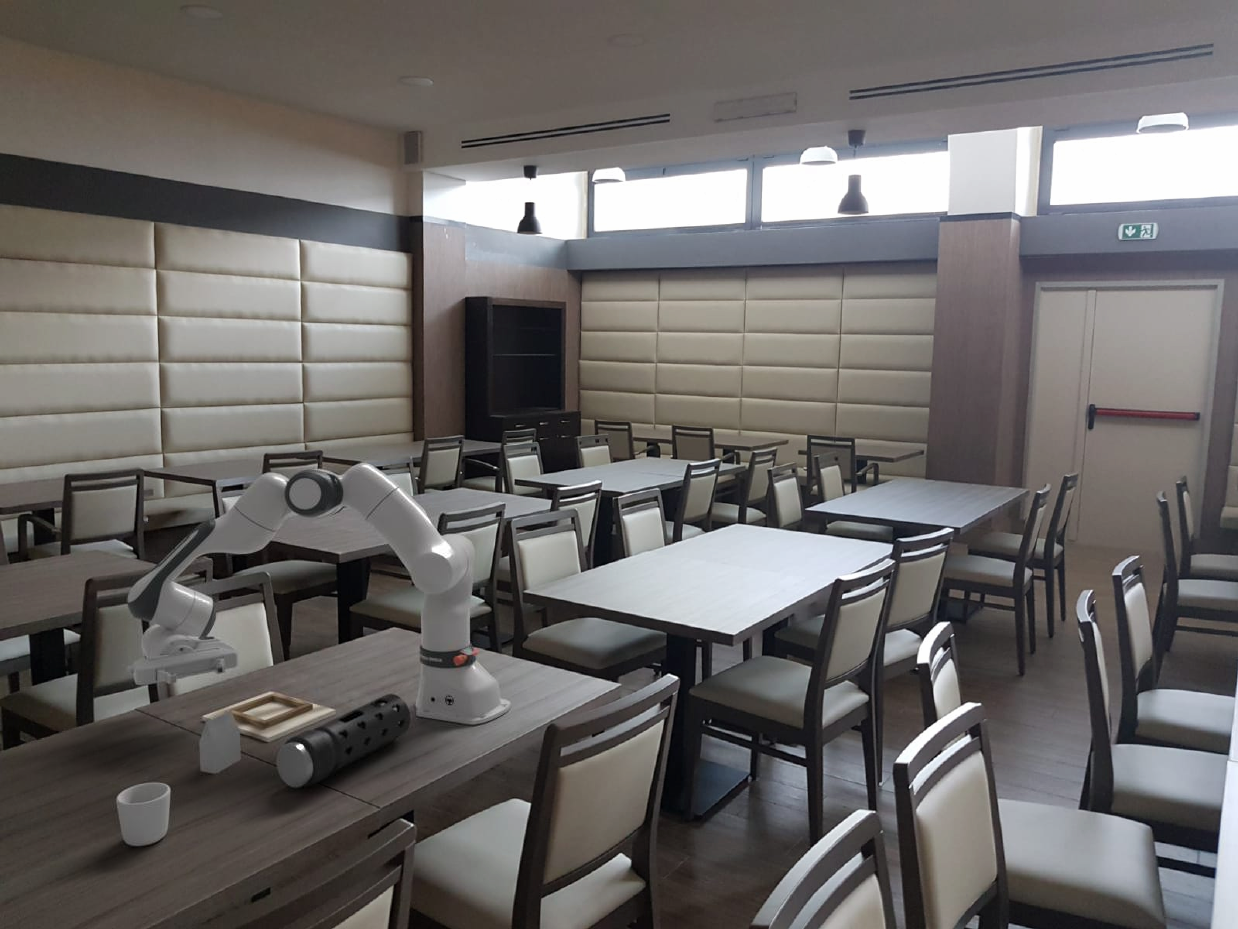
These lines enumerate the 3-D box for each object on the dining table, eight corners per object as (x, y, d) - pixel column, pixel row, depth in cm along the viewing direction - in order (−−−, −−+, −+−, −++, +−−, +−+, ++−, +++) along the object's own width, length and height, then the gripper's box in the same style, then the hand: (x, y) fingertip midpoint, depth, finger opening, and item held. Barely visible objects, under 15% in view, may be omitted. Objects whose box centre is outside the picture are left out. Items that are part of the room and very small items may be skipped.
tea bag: (240, 759, 182) (238, 711, 180) (215, 774, 175) (213, 724, 174) (225, 757, 183) (223, 709, 182) (200, 771, 176) (198, 721, 175)
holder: (335, 714, 205) (335, 704, 205) (268, 742, 190) (268, 731, 189) (270, 695, 216) (270, 686, 216) (202, 720, 201) (202, 710, 201)
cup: (138, 819, 158) (136, 775, 157) (186, 817, 158) (184, 773, 157) (109, 852, 147) (107, 805, 146) (160, 850, 148) (158, 804, 147)
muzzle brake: (412, 744, 190) (411, 696, 189) (311, 801, 165) (309, 746, 164) (377, 735, 194) (376, 688, 193) (273, 789, 169) (271, 736, 168)
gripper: (123, 652, 190) (141, 670, 179) (225, 634, 203) (247, 650, 193) (125, 681, 190) (142, 700, 180) (226, 662, 204) (247, 679, 193)
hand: (197, 674), depth 186 cm, fingers open, 8 cm apart
